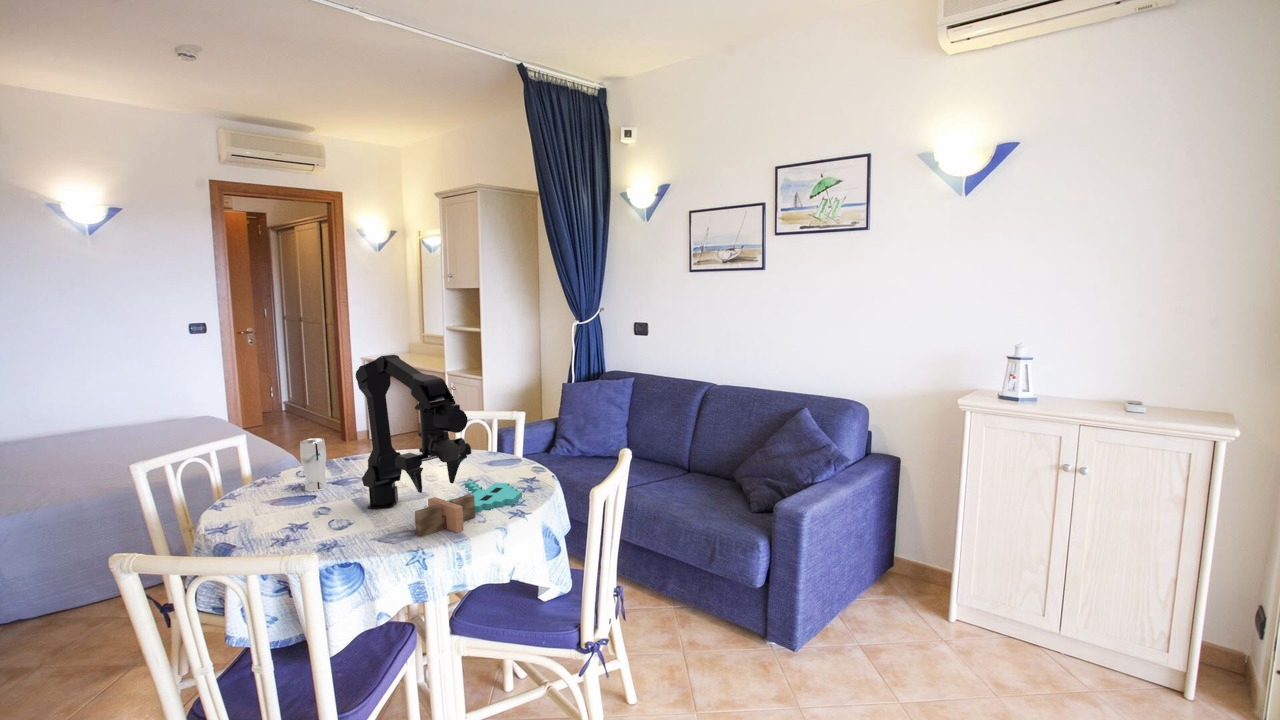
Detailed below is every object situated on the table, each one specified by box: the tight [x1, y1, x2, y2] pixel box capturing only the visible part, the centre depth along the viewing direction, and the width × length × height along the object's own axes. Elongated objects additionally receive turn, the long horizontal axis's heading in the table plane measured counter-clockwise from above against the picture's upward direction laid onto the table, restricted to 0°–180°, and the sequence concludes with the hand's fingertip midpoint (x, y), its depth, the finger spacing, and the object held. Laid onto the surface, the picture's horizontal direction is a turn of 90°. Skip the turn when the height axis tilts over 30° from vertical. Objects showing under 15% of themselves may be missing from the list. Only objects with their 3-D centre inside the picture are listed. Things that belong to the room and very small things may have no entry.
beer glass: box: [299, 437, 328, 493], centre depth 190 cm, size 7×7×15 cm
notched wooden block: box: [414, 493, 476, 538], centre depth 158 cm, size 16×2×6 cm, turn 141°
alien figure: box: [446, 480, 523, 513], centre depth 178 cm, size 20×2×20 cm
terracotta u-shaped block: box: [427, 496, 464, 533], centre depth 159 cm, size 12×2×6 cm, turn 51°
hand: (436, 487), depth 160 cm, fingers open, 9 cm apart
